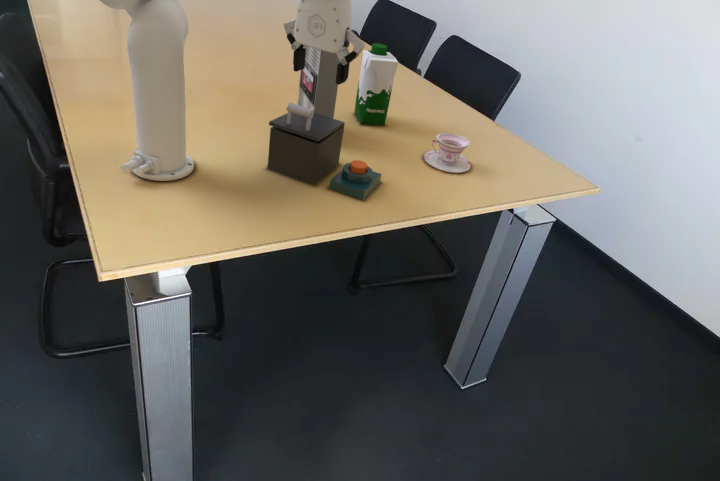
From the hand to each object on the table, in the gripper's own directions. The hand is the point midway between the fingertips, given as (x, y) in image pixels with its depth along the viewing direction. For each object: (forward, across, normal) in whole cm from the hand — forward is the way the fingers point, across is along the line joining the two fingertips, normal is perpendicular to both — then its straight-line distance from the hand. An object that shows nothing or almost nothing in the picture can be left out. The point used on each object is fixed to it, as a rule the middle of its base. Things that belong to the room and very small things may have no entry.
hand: (319, 76), depth 112 cm
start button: (+20, +9, +4) cm, 22 cm away
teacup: (+24, +21, +31) cm, 45 cm away
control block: (+23, +9, +4) cm, 25 cm away
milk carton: (+24, -6, +40) cm, 47 cm away
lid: (+12, -3, +3) cm, 13 cm away
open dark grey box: (+23, -4, +3) cm, 23 cm away
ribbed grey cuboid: (+23, -13, +22) cm, 34 cm away
